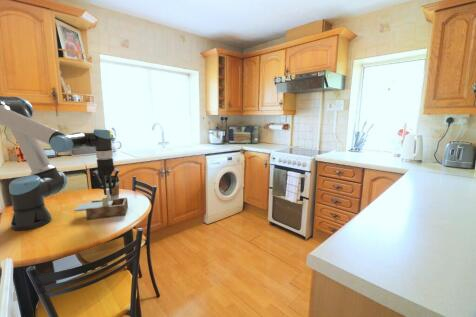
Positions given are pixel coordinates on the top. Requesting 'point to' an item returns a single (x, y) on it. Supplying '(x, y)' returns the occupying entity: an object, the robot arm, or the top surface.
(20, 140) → the robot arm
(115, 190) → the coffee cup
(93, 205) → the lid
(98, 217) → the box
